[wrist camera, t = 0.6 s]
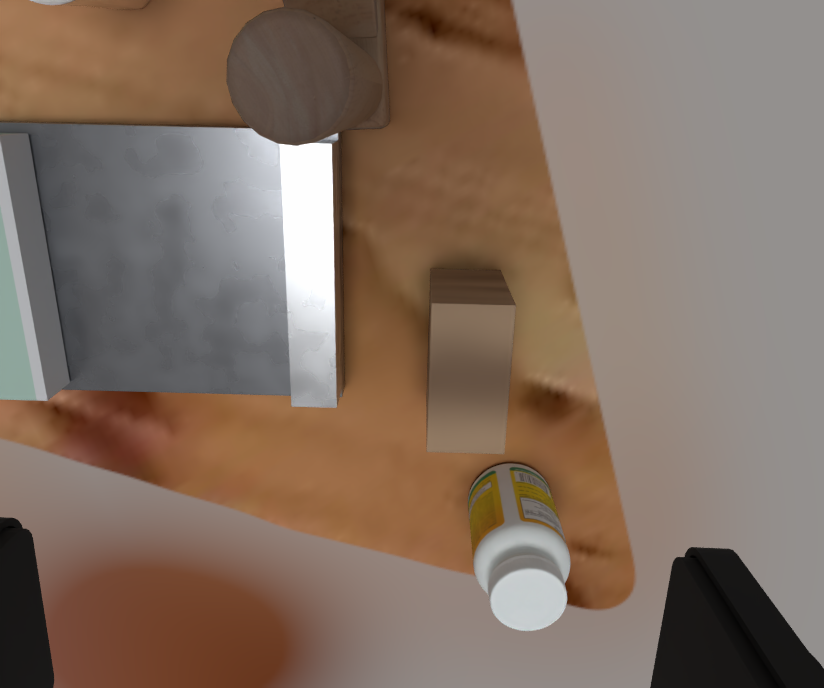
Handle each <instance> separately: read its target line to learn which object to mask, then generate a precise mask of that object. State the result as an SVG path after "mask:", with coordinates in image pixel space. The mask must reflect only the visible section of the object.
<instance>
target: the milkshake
mask: <svg viewBox="0 0 824 688" xmlns="http://www.w3.org/2000/svg"><path fill="white" fill-rule="evenodd" d="M30 1H33V2H36V3H40V4H45V5H60V6H87V7H97V8H106V9H116V10H130V9H143V8H144V6H145V5H146V4H147V3H148V2H149V1H150V0H30Z"/></svg>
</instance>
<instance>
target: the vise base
mask: <svg viewBox="0 0 824 688" xmlns="http://www.w3.org/2000/svg"><path fill="white" fill-rule="evenodd" d="M0 133H28V135H29V141H30V147H31V153H32V159H33V165H34V171H35V177H36V183H37V189H38V195H39V201H40V207H41V213H42V219H43V225H44V231H45V237H46V243H47V249H48V255H49V261H50V267H51V273H52V279H53V285H54V291H55V297H56V302H57V308H58V314H59V320H60V326H61V332H62V338H63V344H64V350H65V356H66V362H67V368H68V374H69V380H70V383H69V384H68V385H66V386H65V387H64V388H63V389H64V390H102V391H139V392H176V393H213V394H250V395H287V396H291V406H294V407H331V408H337V405H338V401H339V398H340V397H342V395H343V392H344V388H345V362H344V291H343V220H342V148H341V132H339V133H337V134H334V135H332V136H329V137H327V138H325V139H322V140H320V141H317V142H314V143H309V144H304V145H300V146H292V145H284V144H277V143H275V142H273V141H271V140H269V139H266V138H264V137H262V136H260V135H258V134H257V133H256V132H255V131H254V130H253V129H252V128H251V127H227V126H185V125H142V124H99V123H57V122H14V121H0Z"/></svg>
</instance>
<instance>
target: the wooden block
mask: <svg viewBox="0 0 824 688" xmlns="http://www.w3.org/2000/svg"><path fill="white" fill-rule="evenodd" d="M283 2H284V6H285V7H282V8H278V9H273V10H269V11H265V12H262V13H261V14H259V15H258V16H256V17H255V18H253V19H252V20H250V21H249V22H247V23H246V24H245V26H244V27H243V28H242V30H241V31H240V32H239V33H238V35H237V36H236V37H235V39H234V41H233V44H232V47H231V50H230V53H229V56H228V59H227V85H228V89H229V92H230V96H231V100H232V103H233V105H234V106H235V108H236V109H237V111H238V113H239V114H240V116H241V118H242V119H243V121H244V122H245V123H246V124H247V125H249V126H250V127H251V128H252V129H253V130H254V131H255V132H256V133H257V134H258V135H260V136H262V137H264V138H266V139H269V140H271V141H273V142H275V143H277V144H284V145H292V146H300V145H304V144H309V143H314V142H317V141H320V140H322V139H325V138H327V137H329V136H332V135H334V134H337V133H339V132H341V131H344V130H357V129H381V128H383V127H385V126H387V125H388V124H389V122H390V106H389V85H388V65H387V44H386V24H385V4H384V0H283Z"/></svg>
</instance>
